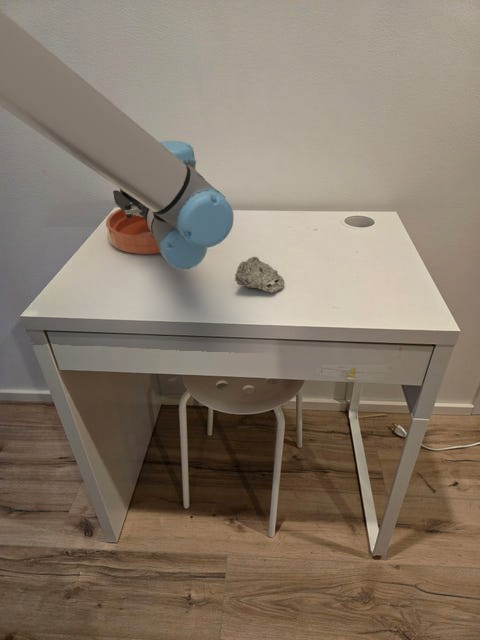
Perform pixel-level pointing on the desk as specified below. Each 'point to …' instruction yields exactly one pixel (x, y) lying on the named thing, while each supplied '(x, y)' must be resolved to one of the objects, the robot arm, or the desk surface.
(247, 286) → the rock sample
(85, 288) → the desk surface
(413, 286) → the desk surface
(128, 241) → the bowl
